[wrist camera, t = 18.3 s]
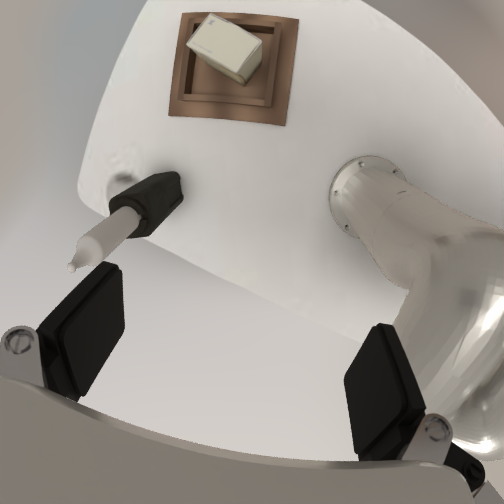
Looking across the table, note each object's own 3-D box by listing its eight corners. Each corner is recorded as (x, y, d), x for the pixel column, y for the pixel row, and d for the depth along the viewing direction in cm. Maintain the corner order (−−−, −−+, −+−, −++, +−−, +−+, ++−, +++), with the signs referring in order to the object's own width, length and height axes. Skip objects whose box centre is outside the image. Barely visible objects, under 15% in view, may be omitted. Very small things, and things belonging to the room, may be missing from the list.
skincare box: (207, 65, 33) (181, 45, 22) (226, 40, 32) (208, 11, 21) (245, 88, 35) (235, 75, 24) (265, 63, 33) (263, 40, 22)
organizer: (298, 21, 31) (301, 11, 27) (284, 125, 37) (286, 126, 33) (184, 15, 31) (175, 5, 27) (170, 115, 37) (159, 116, 33)
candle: (147, 175, 41) (38, 242, 19) (179, 170, 41) (82, 237, 18) (153, 207, 44) (58, 297, 21) (184, 203, 43) (103, 298, 21)
